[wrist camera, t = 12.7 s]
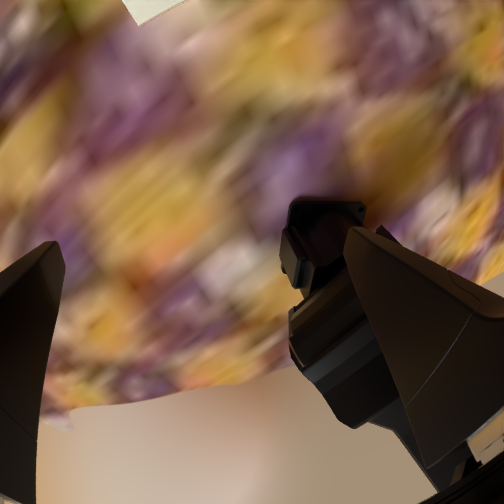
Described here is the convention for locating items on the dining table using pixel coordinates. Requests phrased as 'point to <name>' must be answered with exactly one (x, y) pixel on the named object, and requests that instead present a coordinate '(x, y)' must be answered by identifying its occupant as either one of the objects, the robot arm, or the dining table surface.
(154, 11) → the white tile
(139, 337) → the dining table surface
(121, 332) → the dining table surface
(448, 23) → the dining table surface
